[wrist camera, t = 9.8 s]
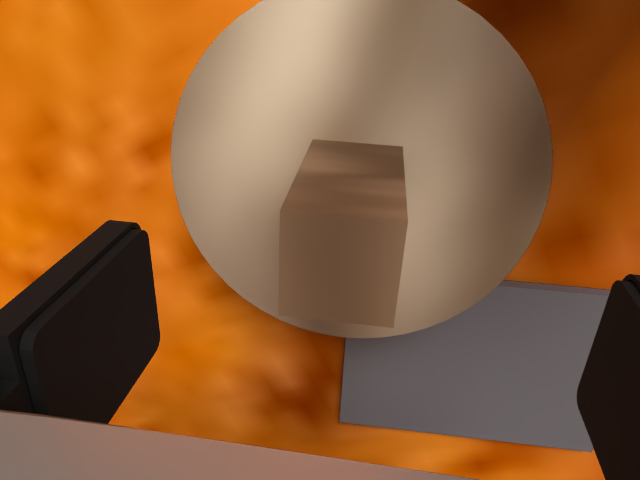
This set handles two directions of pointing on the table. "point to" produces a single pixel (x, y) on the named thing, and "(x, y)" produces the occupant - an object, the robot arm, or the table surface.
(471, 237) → the lid
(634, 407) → the robot arm
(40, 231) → the table surface
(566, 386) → the mat
